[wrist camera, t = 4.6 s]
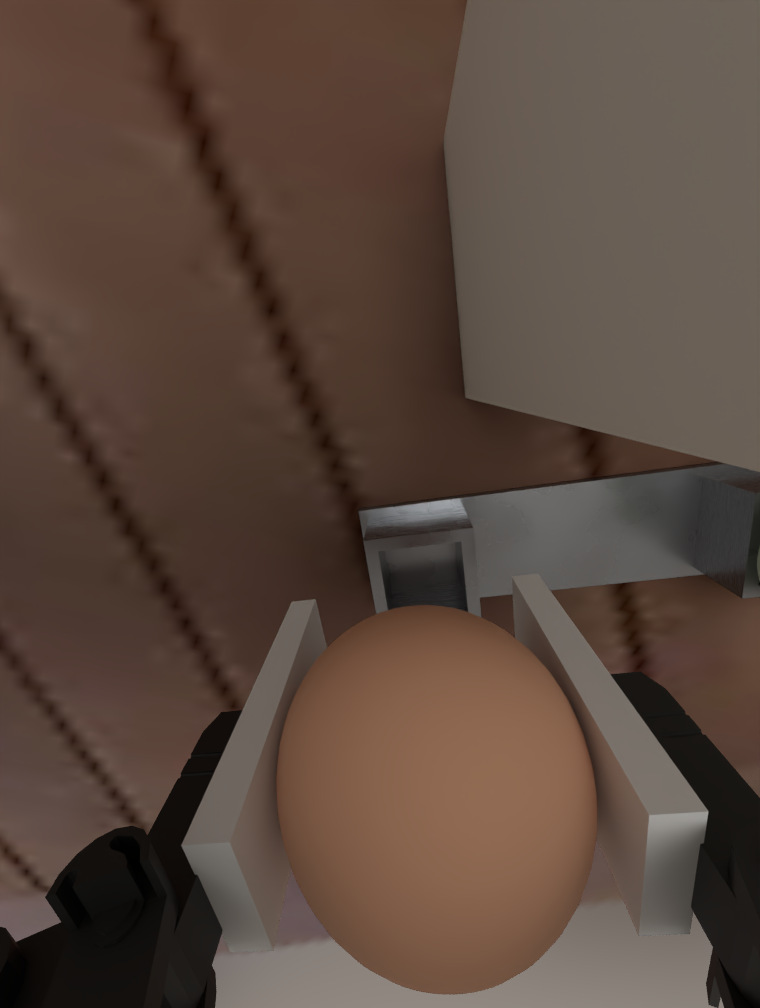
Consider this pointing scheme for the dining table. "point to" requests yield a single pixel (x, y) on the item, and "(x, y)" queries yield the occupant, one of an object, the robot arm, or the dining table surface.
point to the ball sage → (758, 563)
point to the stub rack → (567, 536)
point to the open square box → (611, 216)
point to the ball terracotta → (436, 799)
